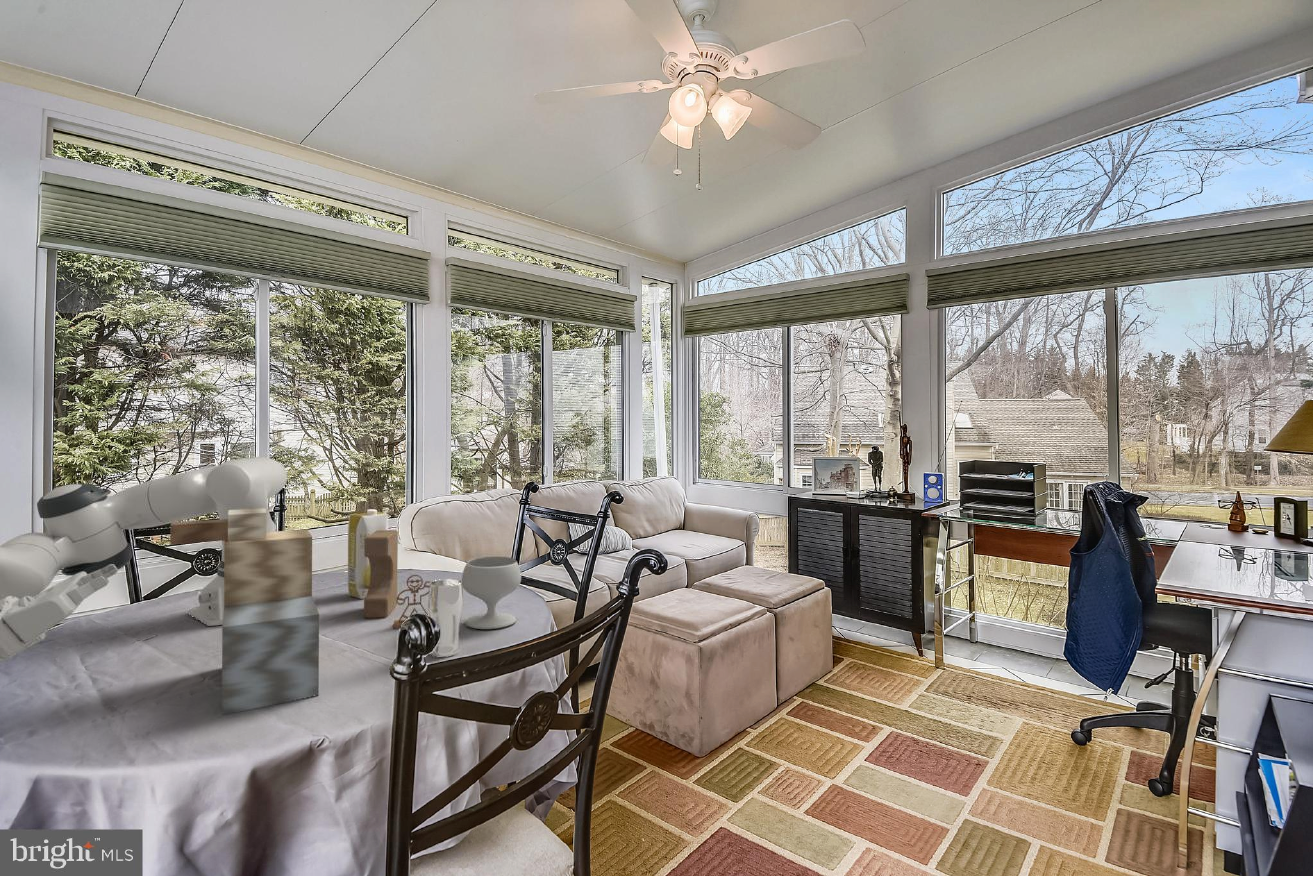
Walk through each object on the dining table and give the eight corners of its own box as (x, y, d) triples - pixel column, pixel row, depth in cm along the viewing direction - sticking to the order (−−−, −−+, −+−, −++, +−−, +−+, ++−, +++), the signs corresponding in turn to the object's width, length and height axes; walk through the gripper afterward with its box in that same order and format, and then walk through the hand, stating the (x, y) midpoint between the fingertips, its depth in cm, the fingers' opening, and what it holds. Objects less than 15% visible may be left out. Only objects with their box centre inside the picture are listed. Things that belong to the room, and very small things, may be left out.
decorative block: (387, 618, 154) (387, 537, 153) (362, 618, 153) (363, 537, 152) (398, 605, 165) (398, 529, 164) (375, 605, 164) (376, 530, 163)
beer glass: (442, 661, 127) (443, 588, 126) (420, 654, 130) (421, 582, 130) (469, 651, 133) (470, 581, 132) (447, 644, 136) (448, 576, 136)
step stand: (221, 714, 102) (222, 557, 102) (225, 667, 122) (225, 534, 121) (318, 695, 110) (319, 549, 109) (306, 653, 129) (307, 529, 129)
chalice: (464, 635, 142) (465, 570, 142) (458, 617, 155) (458, 557, 155) (525, 628, 148) (526, 565, 148) (514, 611, 161) (515, 553, 160)
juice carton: (360, 600, 168) (361, 512, 167) (343, 596, 172) (344, 509, 171) (391, 593, 175) (392, 508, 175) (375, 589, 180) (375, 506, 179)
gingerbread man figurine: (394, 629, 146) (394, 578, 145) (393, 624, 149) (394, 574, 149) (434, 624, 149) (435, 575, 149) (433, 620, 153) (433, 571, 153)
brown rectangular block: (169, 546, 110) (169, 517, 109) (173, 539, 115) (173, 512, 115) (266, 539, 118) (266, 512, 118) (265, 533, 123) (265, 508, 123)
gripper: (44, 621, 111) (131, 575, 117) (8, 658, 94) (113, 601, 100) (19, 593, 109) (109, 548, 116) (-22, 626, 92) (86, 570, 99)
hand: (110, 573), depth 108 cm, fingers open, 8 cm apart
